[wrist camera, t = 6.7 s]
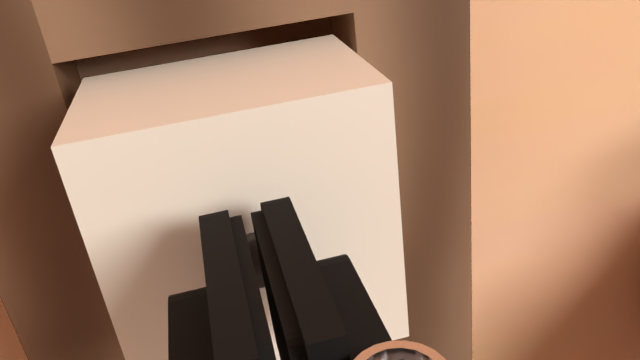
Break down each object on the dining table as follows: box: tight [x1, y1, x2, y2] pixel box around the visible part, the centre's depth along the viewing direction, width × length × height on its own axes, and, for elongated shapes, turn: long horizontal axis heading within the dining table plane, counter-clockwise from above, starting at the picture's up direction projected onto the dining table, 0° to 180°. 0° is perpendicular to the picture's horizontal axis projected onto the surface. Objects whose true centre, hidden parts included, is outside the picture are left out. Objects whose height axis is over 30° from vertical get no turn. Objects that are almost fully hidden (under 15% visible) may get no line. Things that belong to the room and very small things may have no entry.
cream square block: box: [51, 34, 409, 360], centre depth 14 cm, size 6×6×5 cm
